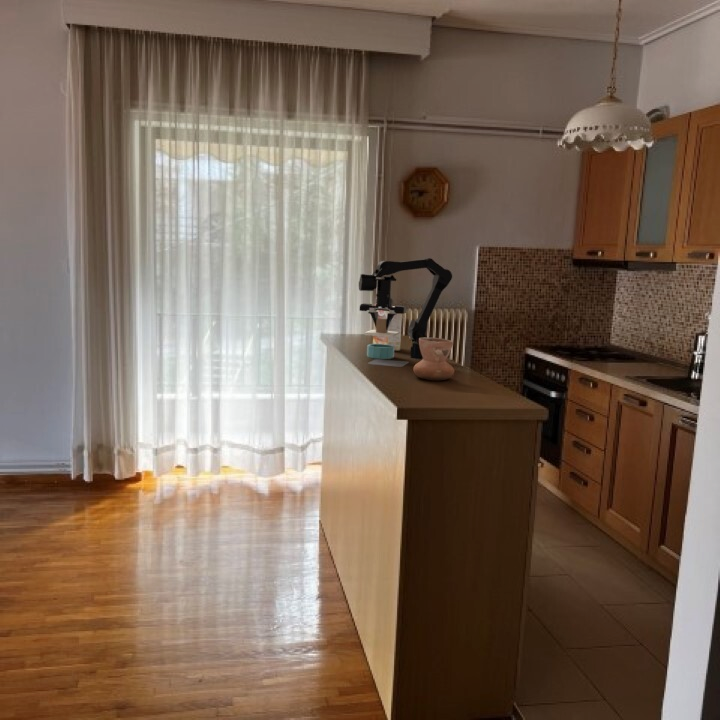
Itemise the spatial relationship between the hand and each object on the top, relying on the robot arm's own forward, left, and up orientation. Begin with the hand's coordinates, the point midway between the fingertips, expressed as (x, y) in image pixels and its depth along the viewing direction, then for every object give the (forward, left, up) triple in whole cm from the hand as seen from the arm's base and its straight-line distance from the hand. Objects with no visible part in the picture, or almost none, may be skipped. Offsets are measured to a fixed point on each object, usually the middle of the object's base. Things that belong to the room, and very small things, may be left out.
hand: (381, 329), depth 293 cm
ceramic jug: (-29, +37, -12) cm, 49 cm away
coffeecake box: (+5, -30, -12) cm, 33 cm away
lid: (0, 0, -2) cm, 2 cm away
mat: (-7, +14, -12) cm, 20 cm away
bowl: (0, 0, -12) cm, 12 cm away
